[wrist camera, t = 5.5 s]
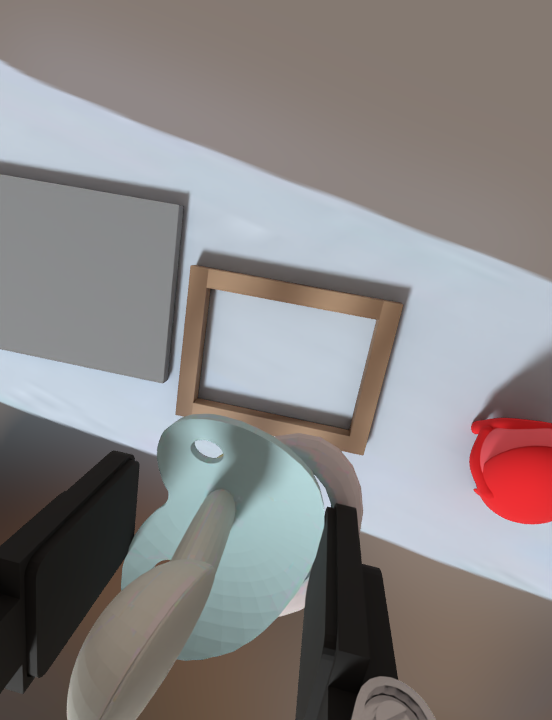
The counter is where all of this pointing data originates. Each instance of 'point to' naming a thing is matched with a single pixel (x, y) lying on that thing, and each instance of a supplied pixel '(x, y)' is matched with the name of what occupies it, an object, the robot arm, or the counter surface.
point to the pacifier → (210, 558)
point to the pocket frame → (299, 295)
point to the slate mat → (88, 277)
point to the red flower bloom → (514, 468)
